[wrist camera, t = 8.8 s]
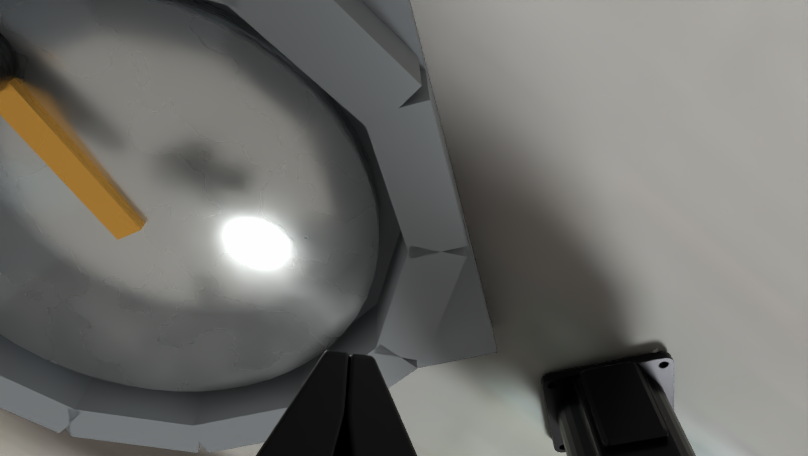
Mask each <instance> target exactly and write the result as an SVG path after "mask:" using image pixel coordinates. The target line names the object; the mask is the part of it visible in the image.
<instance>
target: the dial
mask: <svg viewBox="0 0 808 456" xmlns="http://www.w3.org/2000/svg"><path fill="white" fill-rule="evenodd" d="M378 251H379V203H378V196H377V189H376V183H375V179H374V176H373V173H372V170H371V166H370V163H369V160H368V157H367V155H366V152H365V150H364V148H363V146H362V144H361V142H360V140H359V137H358V135H357V133H356V131H355V129H354V128H353V126H352V125H351V123H350V121H349V120H348V118H347V117H346V115H345V114H344V112H343V111H342V109H341V107H340V106H339V104H338V103H337V102H336V101H335V99H334V98H333V97H332V96H330V95H329V94H328V93H327V92H326V91H325V90H324V89H322V88H321V87H320V86H319V85H318V84H317V83H316V82H314V81H313V80H312V79H311V78H310V77H309V76H308V75H306V74H305V73H304V72H303V71H302V70H301V69H300V68H298V67H297V66H296V65H295V64H294V63H293V62H292V61H290V60H289V59H288V58H287V57H286V56H285V55H284V54H282V53H281V52H280V51H279V50H278V49H277V48H276V47H274V46H273V45H272V44H271V43H270V42H269V41H268V40H266V39H265V38H264V37H263V36H262V35H261V34H260V33H258V32H257V31H256V30H255V29H254V28H253V27H252V26H250V25H249V24H247V23H245V22H243V21H242V20H240V19H238V18H236V17H235V16H233V15H231V14H229V13H228V12H226V11H224V10H221V9H219V8H217V7H214V6H212V5H210V4H207V3H205V2H203V1H200V0H0V335H2V336H4V337H5V338H7V339H9V340H10V341H12V342H13V343H15V344H17V345H18V346H20V347H22V348H24V349H26V350H28V351H30V352H32V353H34V354H36V355H38V356H40V357H42V358H44V359H46V360H49V361H51V362H53V363H56V364H58V365H61V366H63V367H66V368H68V369H70V370H73V371H76V372H79V373H82V374H85V375H89V376H92V377H95V378H98V379H102V380H106V381H110V382H114V383H118V384H122V385H128V386H134V387H140V388H145V389H153V390H165V391H193V392H201V391H213V390H225V389H231V388H236V387H242V386H248V385H252V384H255V383H259V382H262V381H266V380H270V379H272V378H275V377H277V376H280V375H282V374H285V373H287V372H290V371H292V370H294V369H296V368H298V367H300V366H301V365H303V364H305V363H307V362H309V361H311V360H312V359H313V358H315V357H316V356H318V355H319V354H320V353H322V352H323V351H325V350H326V349H327V348H329V347H330V346H331V345H332V344H333V343H334V342H335V341H336V340H337V339H338V338H339V337H340V336H341V335H342V334H343V333H344V332H345V331H346V330H347V328H348V327H349V326H350V324H351V323H352V322H353V321H354V319H355V318H356V317H357V315H358V313H359V311H360V310H361V308H362V306H363V304H364V302H365V301H366V299H367V296H368V294H369V291H370V288H371V285H372V282H373V279H374V277H375V271H376V265H377V259H378Z"/></svg>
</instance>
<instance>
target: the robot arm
mask: <svg viewBox="0 0 808 456" xmlns="http://www.w3.org/2000/svg"><path fill="white" fill-rule="evenodd" d="M541 384H542V389H543V394H544V399H545V404H546V410H547V415H548V420H549V425H550V430H551V435H552V440H553V444H554V448H555V450H556V451H557V452H566V454H567V456H696V455H695V453H694V451H693V449H692V447H691V445H690V443H689V441H688V439H687V437H686V435H685V433H684V431H683V429H682V427H681V425H680V423H679V421H678V419H677V416H676V414H675V412H674V361H673V359H672V357H671V355H670V354H669V353H667V352H659V353H653V354H648V355H643V356H638V357H632V358H627V359H622V360H617V361H611V362H606V363H601V364H595V365H590V366H585V367H580V368H574V369H569V370H564V371H559V372H553V373H549V374H546V375H544V376H543V377H542V378H541ZM256 456H417V454H416V452H415V450H414V447H413V445H412V443H411V440H410V438H409V436H408V433H407V431H406V429H405V427H404V424H403V422H402V420H401V417H400V415H399V413H398V410H397V408H396V406H395V404H394V401H393V399H392V397H391V394H390V392H389V390H388V387H387V385H386V383H385V381H384V378H383V376H382V374H381V371H380V369H379V367H378V364H377V362H376V360H375V358H374V357H372V356H369V355H362V354H355V353H354V354H351V355H350V357H349V354H348V353H346V352H340V351H333V350H327V351H325V352H324V353H323V355H322V356H321V358H320V359H319V361H318V362H317V364H316V365H315V367H314V368H313V370H312V371H311V373H310V374H309V376H308V377H307V379H306V380H305V382H304V383H303V385H302V386H301V388H300V390H299V391H298V393H297V394H296V396H295V397H294V399H293V400H292V402H291V403H290V405H289V406H288V408H287V409H286V411H285V412H284V414H283V415H282V417H281V418H280V420H279V421H278V423H277V424H276V426H275V427H274V429H273V431H272V432H271V434H270V435H269V437H268V438H267V440H266V441H265V443H264V444H263V446H262V447H261V449H260V450H259V452H258V453H257V455H256Z"/></svg>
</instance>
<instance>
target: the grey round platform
mask: <svg viewBox="0 0 808 456" xmlns="http://www.w3.org/2000/svg"><path fill="white" fill-rule="evenodd" d="M200 1H203V2H205V3H207V4H210V5H212V6H214V7H217V8H219V9H221V10H224V11H226V12H228V13H229V14H231V15H233V16H235V17H236V18H238V19H240V20H242V21H243V22H245V23H247V24H249V25H250V26H252V27H253V28H254V29H255V30H256V31H257V32H258V33H260V34H261V35H262V36H263V37H264V38H265V39H266V40H268V41H269V42H270V43H271V44H272V45H273V46H274V47H276V48H277V49H278V50H279V51H280V52H281V53H282V54H284V55H285V56H286V57H287V58H288V59H289V60H290V61H292V62H293V63H294V64H295V65H296V66H297V67H298V68H300V69H301V70H302V71H303V72H304V73H305V74H306V75H308V76H309V77H310V78H311V79H312V80H313V81H314V82H316V83H317V84H318V85H319V86H320V87H321V88H322V89H324V90H325V91H326V92H327V93H328V94H329V95H330V96H332V97H333V98H334V99H335V101H336V102H337V103H338V104H339V106H340V107H341V109H342V111H343V112H344V114H345V115H346V117H347V118H348V120H349V121H350V123H351V125H352V126H353V128H354V129H355V131H356V133H357V135H358V137H359V140H360V142H361V144H362V146H363V148H364V150H365V152H366V155H367V157H368V160H369V163H370V166H371V170H372V173H373V176H374V179H375V183H376V189H377V196H378V203H379V251H378V259H377V265H376V271H375V277H374V279H373V282H372V285H371V288H370V291H369V294H368V296H367V299H366V301H365V302H364V304H363V306H362V308H361V310H360V311H359V313H358V315H357V317H356V318H355V319H354V321H353V322H352V323H351V324H350V326H349V327H348V328H347V330H346V331H345V332H344V333H343V334H342V335H341V336H340V337H339V338H338V339H337V340H336V341H335V342H334V343H333V344H332V345H331V346H330V347H329V348H327V349H326V350H325V351H327V350H333V351H340V352H346V353H348V354H349V357H350V355H351V354H354V353H355V354H362V355H369V356H372V357H374V358H375V360H376V362H377V364H378V367H379V369H380V371H381V374H382V376H383V378H384V381H385V383H386V385H387V387H388V388H389V387H391V386H392V385H394V384H395V383H397V382H398V381H400V380H401V379H402V378H404V377H405V376H407V375H408V374H410V373H411V372H413V371H414V370H416V369H417V368H421V367H426V366H431V365H436V364H441V363H446V362H451V361H456V360H461V359H466V358H471V357H476V356H482V355H487V354H492V353H497V348H496V343H495V338H494V333H493V329H492V325H491V321H490V317H489V313H488V309H487V305H486V301H485V297H484V293H483V289H482V285H481V281H480V277H479V273H478V269H477V265H476V261H475V257H474V253H473V249H472V245H471V241H470V237H469V233H468V229H467V225H466V222H465V218H464V214H463V210H462V206H461V202H460V198H459V194H458V190H457V186H456V182H455V178H454V174H453V170H452V166H451V162H450V158H449V154H448V150H447V146H446V142H445V138H444V134H443V130H442V126H441V122H440V118H439V115H438V111H437V107H436V103H435V99H434V95H433V91H432V87H431V83H430V79H429V75H428V71H427V67H426V63H425V59H424V55H423V51H422V47H421V43H420V39H419V35H418V31H417V27H416V23H415V19H414V15H413V11H412V8H411V4H410V0H200ZM325 351H323V352H322V353H320V354H319V355H318V356H316V357H315V358H313V359H312V360H311V361H309V362H307V363H305V364H303V365H301V366H300V367H298V368H296V369H294V370H292V371H290V372H287V373H285V374H282V375H280V376H277V377H275V378H272V379H270V380H266V381H262V382H259V383H255V384H252V385H248V386H242V387H236V388H231V389H225V390H213V391H201V392H193V391H165V390H153V389H145V388H140V387H134V386H128V385H122V384H118V383H114V382H110V381H106V380H102V379H98V378H95V377H92V376H89V375H85V374H82V373H79V372H76V371H73V370H70V369H68V368H66V367H63V366H61V365H58V364H56V363H53V362H51V361H49V360H46V359H44V358H42V357H40V356H38V355H36V354H34V353H32V352H30V351H28V350H26V349H24V348H22V347H20V346H18V345H17V344H15V343H13V342H12V341H10V340H9V339H7V338H5V337H4V336H2V335H0V408H2V409H4V410H6V411H9V412H11V413H13V414H16V415H18V416H20V417H23V418H25V419H27V420H30V421H32V422H34V423H37V424H39V425H41V426H43V427H46V428H48V429H50V430H53V431H55V432H57V433H61V432H62V431H63V430H64V429H65V430H66V431H67V432H68V433H69V434H70V435H71V437H78V438H86V439H94V440H101V441H109V442H117V443H124V444H132V445H140V446H148V447H155V448H163V449H171V450H178V451H186V452H194V453H198V450H199V447H200V443H201V445H202V446H203V447H204V448H205V450H206V451H207V452H208V453H210V452H215V451H220V450H226V449H231V448H237V447H242V446H247V445H253V444H258V443H263V442H265V441H266V440H267V438H268V437H269V435H270V434H271V432H272V431H273V429H274V427H275V426H276V424H277V423H278V421H279V420H280V418H281V417H282V415H283V414H284V412H285V411H286V409H287V408H288V406H289V405H290V403H291V402H292V400H293V399H294V397H295V396H296V394H297V393H298V391H299V390H300V388H301V386H302V385H303V383H304V382H305V380H306V379H307V377H308V376H309V374H310V373H311V371H312V370H313V368H314V367H315V365H316V364H317V362H318V361H319V359H320V358H321V356H322V355H323V353H324V352H325Z"/></svg>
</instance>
